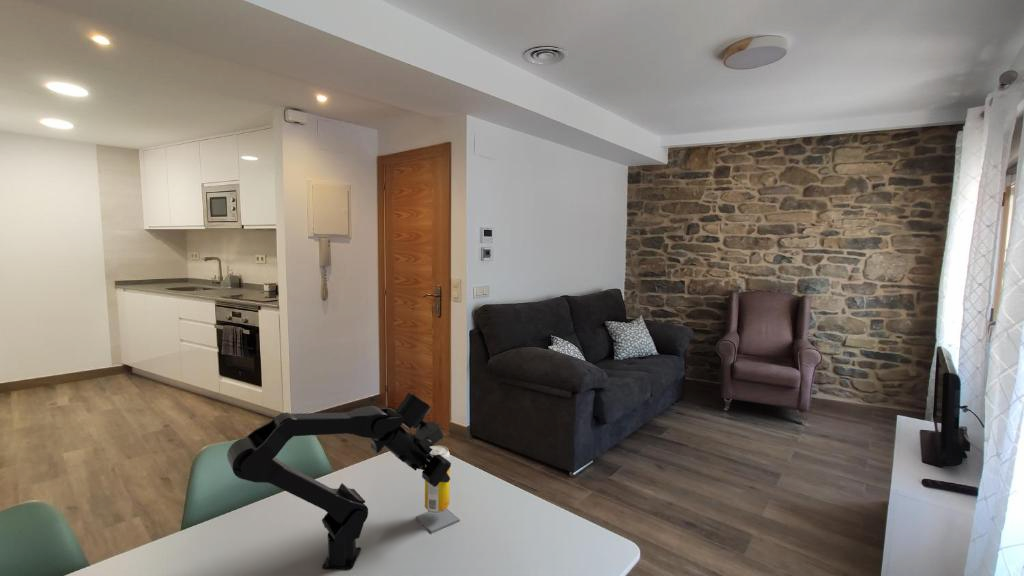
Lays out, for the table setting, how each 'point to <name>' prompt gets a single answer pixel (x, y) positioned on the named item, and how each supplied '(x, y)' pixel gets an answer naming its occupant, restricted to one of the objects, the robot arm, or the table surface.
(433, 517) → the slate mat
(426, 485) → the beer can
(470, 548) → the table surface
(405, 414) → the robot arm
